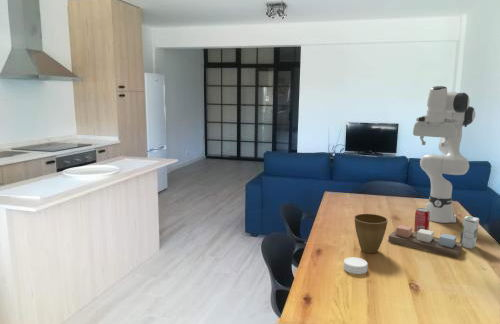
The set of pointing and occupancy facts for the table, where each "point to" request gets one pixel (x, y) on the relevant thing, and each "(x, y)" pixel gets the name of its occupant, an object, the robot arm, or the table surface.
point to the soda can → (421, 219)
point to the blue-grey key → (447, 240)
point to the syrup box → (469, 231)
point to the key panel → (426, 244)
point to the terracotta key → (404, 231)
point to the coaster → (355, 265)
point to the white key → (425, 235)
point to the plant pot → (370, 231)
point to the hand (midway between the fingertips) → (433, 145)
